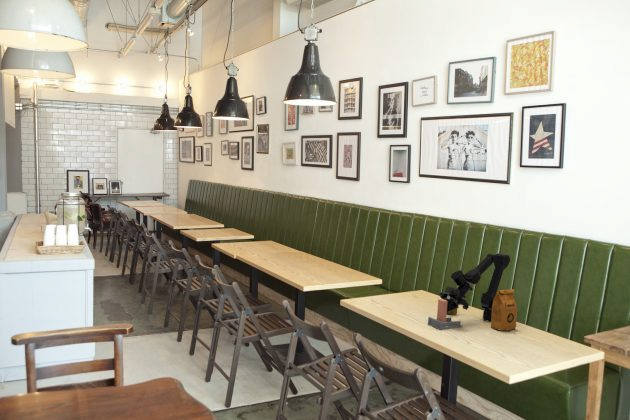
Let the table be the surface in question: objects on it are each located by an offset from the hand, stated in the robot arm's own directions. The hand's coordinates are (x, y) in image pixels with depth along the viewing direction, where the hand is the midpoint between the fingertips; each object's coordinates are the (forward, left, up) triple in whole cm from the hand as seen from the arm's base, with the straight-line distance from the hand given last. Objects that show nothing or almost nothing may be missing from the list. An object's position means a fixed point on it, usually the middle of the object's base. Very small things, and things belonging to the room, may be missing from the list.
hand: (444, 312), depth 290 cm
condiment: (0, -27, -8) cm, 28 cm away
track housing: (-1, -1, -8) cm, 8 cm away
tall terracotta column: (+1, +1, -6) cm, 7 cm away
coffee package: (-30, -13, -8) cm, 34 cm away
